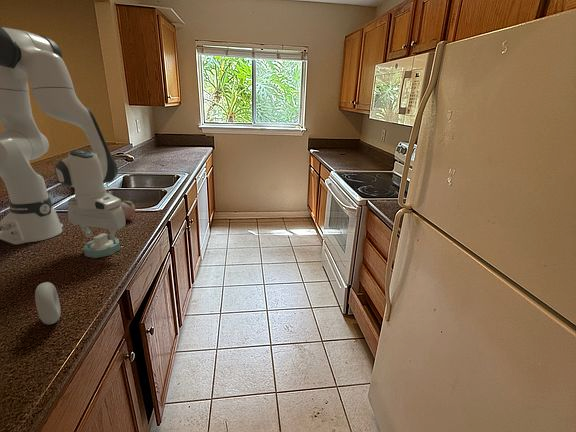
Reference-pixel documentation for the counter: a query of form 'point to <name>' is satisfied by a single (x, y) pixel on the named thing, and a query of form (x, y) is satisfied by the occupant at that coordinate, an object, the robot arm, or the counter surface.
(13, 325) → the counter surface
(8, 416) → the counter surface
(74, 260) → the counter surface
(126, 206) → the decorative fruit
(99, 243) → the cap
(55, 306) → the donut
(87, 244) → the studded octagonal holder
